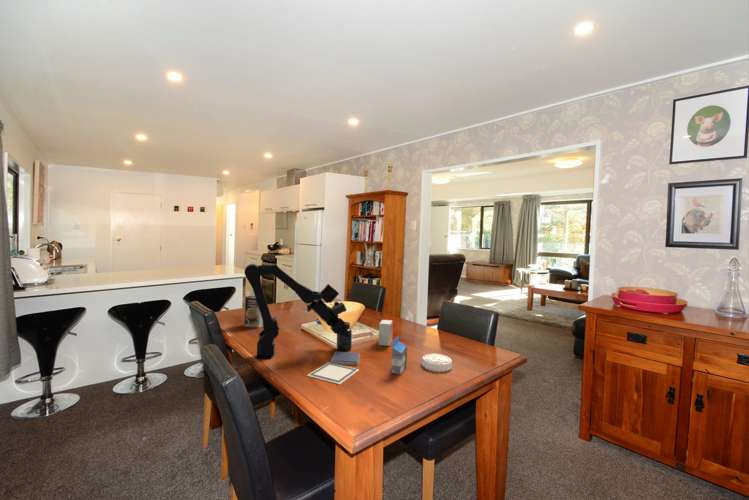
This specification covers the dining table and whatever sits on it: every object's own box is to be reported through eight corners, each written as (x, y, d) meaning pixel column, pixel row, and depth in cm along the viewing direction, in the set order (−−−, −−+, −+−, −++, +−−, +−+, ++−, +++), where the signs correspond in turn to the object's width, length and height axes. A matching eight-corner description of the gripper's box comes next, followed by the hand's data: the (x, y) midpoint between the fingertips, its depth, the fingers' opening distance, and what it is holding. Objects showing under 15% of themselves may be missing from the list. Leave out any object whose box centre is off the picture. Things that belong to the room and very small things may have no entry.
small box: (389, 346, 155) (390, 324, 154) (378, 345, 156) (379, 323, 156) (392, 341, 163) (393, 320, 162) (381, 340, 164) (382, 319, 163)
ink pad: (330, 364, 131) (330, 360, 131) (334, 354, 142) (335, 351, 142) (358, 365, 131) (358, 362, 131) (360, 355, 142) (360, 352, 142)
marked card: (307, 375, 119) (307, 374, 119) (328, 363, 132) (328, 361, 132) (339, 384, 113) (339, 383, 113) (359, 370, 126) (359, 369, 126)
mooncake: (429, 373, 126) (429, 364, 126) (417, 361, 137) (417, 353, 137) (457, 371, 129) (457, 362, 129) (443, 359, 141) (443, 351, 140)
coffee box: (244, 326, 179) (244, 297, 179) (250, 323, 186) (250, 295, 185) (259, 328, 178) (260, 298, 177) (265, 324, 184) (265, 296, 183)
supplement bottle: (336, 346, 152) (337, 320, 152) (351, 346, 153) (352, 321, 152) (336, 351, 145) (336, 324, 145) (351, 351, 146) (352, 325, 146)
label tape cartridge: (400, 375, 123) (401, 342, 122) (390, 373, 124) (391, 341, 124) (406, 366, 131) (407, 336, 131) (397, 365, 132) (398, 335, 132)
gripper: (340, 301, 138) (365, 325, 142) (331, 293, 155) (352, 315, 160) (321, 321, 135) (347, 345, 140) (314, 311, 153) (336, 332, 157)
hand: (346, 333), depth 149 cm, fingers open, 9 cm apart
